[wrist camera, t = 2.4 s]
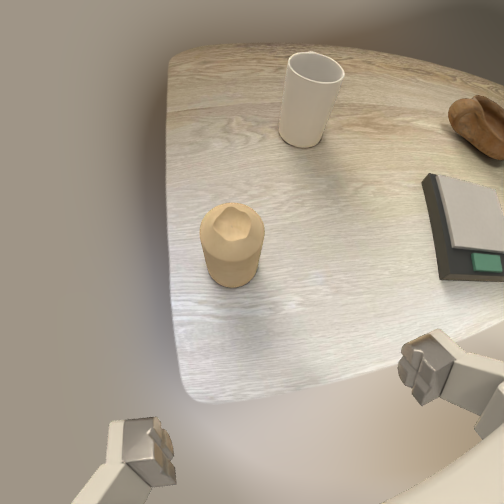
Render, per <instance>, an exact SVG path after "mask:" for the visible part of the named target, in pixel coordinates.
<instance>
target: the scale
mask: <svg viewBox="0 0 504 504" xmlns="http://www.w3.org/2000/svg"><path fill="white" fill-rule="evenodd" d="M422 186H423V190H424V194H425V199H426V203H427V208H428V212H429V217H430V222H431V227H432V232H433V238H434V243H435V249H436V256H437V263H438V270H439V277H440V280H463V281H494V282H504V215H503V212H502V208H501V205H500V202H499V199H498V196H497V193H496V189H493V188H490V187H486V186H483V185H479V184H475V183H472V182H468V181H464V180H460V179H456V178H452V177H448V176H444V175H440V174H438V175H435V174H431V173H429V174H428V175H427V176H426V177H425V179H424V180H423V181H422Z"/></svg>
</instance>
